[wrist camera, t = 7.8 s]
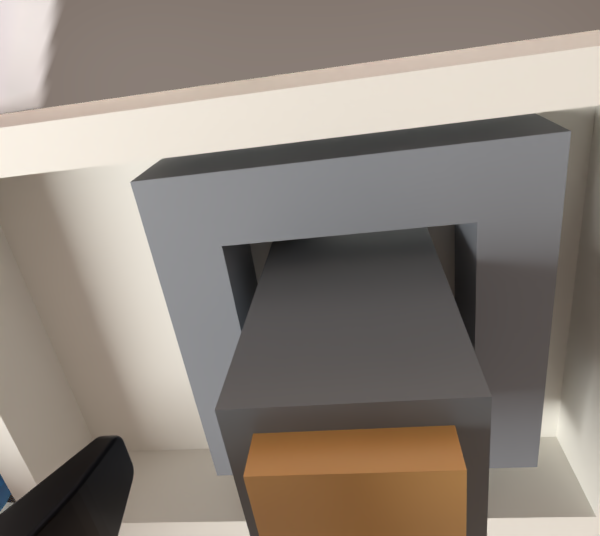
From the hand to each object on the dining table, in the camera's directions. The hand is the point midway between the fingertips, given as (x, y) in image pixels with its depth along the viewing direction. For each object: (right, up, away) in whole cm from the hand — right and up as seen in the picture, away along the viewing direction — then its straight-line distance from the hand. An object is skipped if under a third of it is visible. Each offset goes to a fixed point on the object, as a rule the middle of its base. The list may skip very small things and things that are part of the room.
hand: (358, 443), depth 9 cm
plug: (+1, +3, +5) cm, 6 cm away
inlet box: (-1, +2, +6) cm, 7 cm away
